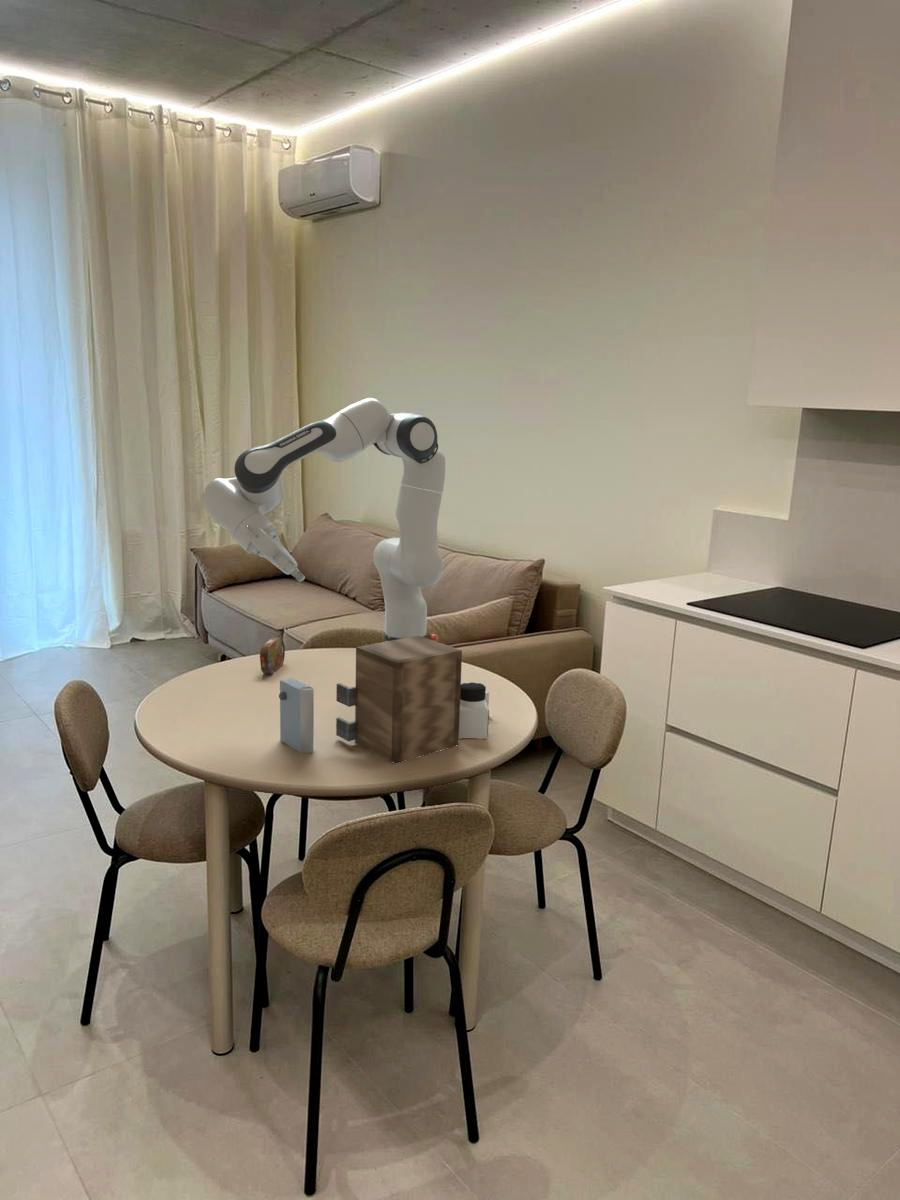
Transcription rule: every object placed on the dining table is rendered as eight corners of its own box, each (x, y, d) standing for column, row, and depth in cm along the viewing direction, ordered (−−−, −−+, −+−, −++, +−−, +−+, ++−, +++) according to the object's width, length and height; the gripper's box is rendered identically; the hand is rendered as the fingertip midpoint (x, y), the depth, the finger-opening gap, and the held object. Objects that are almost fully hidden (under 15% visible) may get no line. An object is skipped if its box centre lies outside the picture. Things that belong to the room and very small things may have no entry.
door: (275, 741, 198) (274, 681, 195) (292, 737, 200) (291, 677, 197) (298, 755, 190) (298, 693, 187) (316, 751, 193) (316, 689, 190)
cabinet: (406, 721, 213) (408, 632, 208) (458, 745, 199) (462, 650, 194) (336, 739, 200) (336, 644, 196) (386, 766, 186) (388, 664, 182)
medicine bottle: (487, 739, 203) (490, 689, 201) (456, 739, 203) (458, 688, 200) (484, 728, 210) (486, 679, 208) (454, 728, 210) (455, 679, 207)
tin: (269, 677, 243) (269, 647, 241) (258, 677, 243) (257, 647, 242) (285, 662, 258) (285, 634, 256) (275, 661, 258) (275, 633, 256)
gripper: (253, 512, 196) (296, 554, 193) (277, 536, 216) (316, 574, 213) (232, 532, 195) (276, 575, 193) (258, 554, 215) (298, 593, 213)
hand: (297, 575), depth 203 cm, fingers open, 8 cm apart
